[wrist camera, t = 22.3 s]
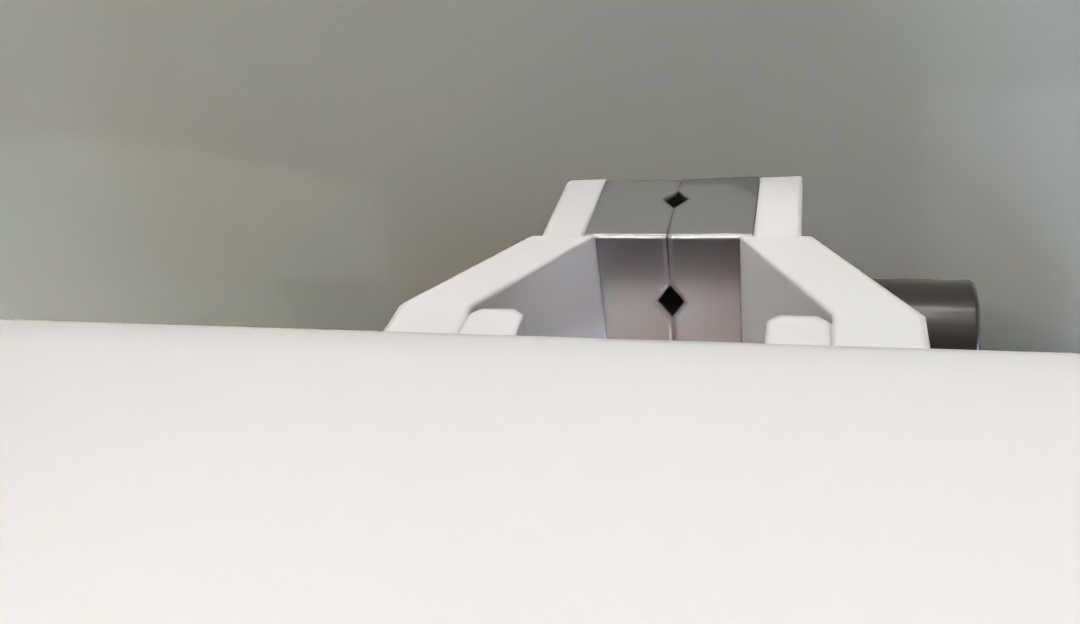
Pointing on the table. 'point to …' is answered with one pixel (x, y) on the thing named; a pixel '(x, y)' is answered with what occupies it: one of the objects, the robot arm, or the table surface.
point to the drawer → (942, 309)
